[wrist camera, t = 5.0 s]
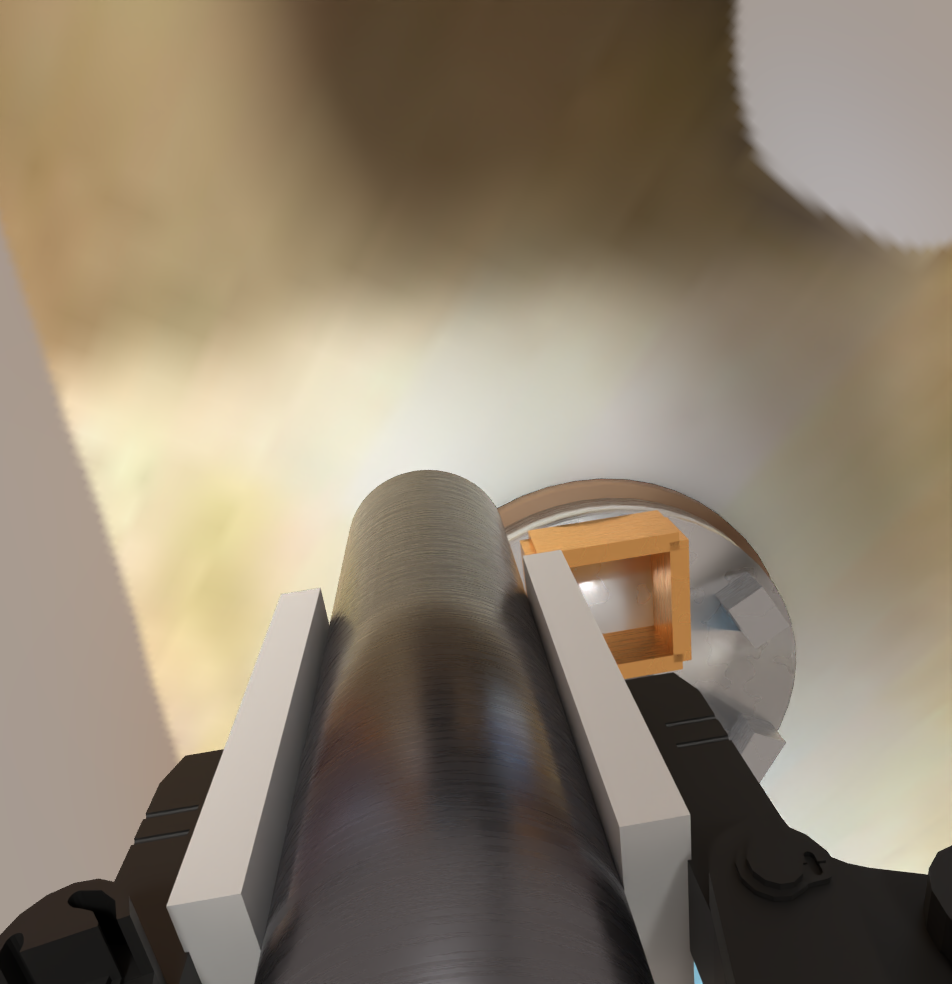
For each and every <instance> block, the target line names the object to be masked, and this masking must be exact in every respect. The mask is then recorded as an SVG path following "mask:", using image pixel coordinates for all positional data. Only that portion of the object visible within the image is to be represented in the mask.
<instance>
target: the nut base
mask: <svg viewBox="0 0 952 984" xmlns="http://www.w3.org/2000/svg"><path fill="white" fill-rule="evenodd" d="M600 498H633V499H640V500H646V501H652V502H658V503H662V504H665V505H668V506H672V507H675V508H678V509H682V510H684V511H686V512H688V513H690V514H692V515H695V516H697V517H699V518H701V519H703V520H705V521H706V522H708V523H709V524H711V525H712V526H714V527H715V528H717V529H719V530H720V531H722V532H723V533H724V534H725V535H726V536H727V537H729V538H730V539H731V540H732V541H733V542H734V543H735V544H736V545H737V546H739V547H740V548H741V549H742V550H743V551H744V552H745V553H746V554H747V555H749V556H750V557H751V558H752V559H753V560H754V561H755V562H756V563H757V564H759V566H760V567H761V568H762V569H763V571H764V572H765V573H766V574H767V576H768V577H769V578H770V576H769V574H768V572H767V570H766V568H765V566H764V565H763V563H762V561H761V559H760V558H759V556H758V554H757V553H756V552H755V551H754V549H753V548H752V547H751V546H750V544H749V543H748V542H747V541H746V539H745V538H744V537H743V536H742V535H741V534H740V533H738V532H737V531H736V530H735V529H734V528H733V527H732V526H731V525H730V524H729V523H727V522H726V521H725V520H724V519H723V518H722V517H720V516H719V515H718V514H717V513H715V512H714V511H712V510H711V509H709V508H708V507H706V506H705V505H703V504H702V503H700V502H699V501H696V500H694V499H692V498H690V497H688V496H686V495H684V494H682V493H680V492H677V491H675V490H671V489H668V488H665V487H662V486H658V485H655V484H651V483H645V482H639V481H633V480H624V479H593V480H582V481H573V482H569V483H564V484H559V485H555V486H550V487H547V488H544V489H541V490H538V491H535V492H532V493H529V494H527V495H524V496H521V497H519V498H517V499H515V500H513V501H511V502H509V503H507V504H505V505H503V506H501V507H499V508H497V510H498V512H499V514H500V516H501V519H502V522H503V525H504V528H505V527H507V526H509V525H511V524H513V523H515V522H517V521H519V520H521V519H523V518H525V517H527V516H529V515H531V514H534V513H537V512H540V511H543V510H546V509H548V508H551V507H554V506H558V505H562V504H567V503H571V502H576V501H580V500H589V499H600Z"/></svg>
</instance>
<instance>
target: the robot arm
mask: <svg viewBox="0 0 952 984" xmlns="http://www.w3.org/2000/svg"><path fill="white" fill-rule="evenodd" d="M523 564H524V572H525V581H526V589H527V598H528V601H529V604H530V607H531V610H532V613H533V616H534V619H535V622H536V626H537V629H538V632H539V635H540V638H541V641H542V644H543V647H544V650H545V653H546V656H547V659H548V662H549V665H550V668H551V671H552V674H553V677H554V680H555V683H556V686H557V689H558V692H559V695H560V698H561V701H562V704H563V707H564V710H565V714H566V717H567V720H568V723H569V726H570V729H571V732H572V735H573V738H574V741H575V744H576V747H577V750H578V753H579V756H580V759H581V762H582V765H583V768H584V771H585V774H586V777H587V780H588V783H589V786H590V789H591V792H592V795H593V799H594V802H595V805H596V808H597V811H598V814H599V817H600V820H601V823H602V826H603V829H604V832H605V835H606V838H607V841H608V844H609V847H610V850H611V853H612V856H613V859H614V862H615V865H616V868H617V871H618V874H619V877H620V880H621V883H622V887H623V890H624V893H625V895H626V898H627V901H628V904H629V907H630V910H631V913H632V916H633V919H634V922H635V925H636V928H637V931H638V934H639V937H640V941H641V944H642V947H643V950H644V953H645V956H646V959H647V962H648V965H649V968H650V971H651V974H652V977H653V980H654V983H655V984H694V962H695V965H696V967H697V970H698V972H699V975H700V978H701V980H702V983H703V984H952V846H950V847H948V848H946V849H944V850H941V851H939V852H938V853H937V855H936V857H935V858H934V860H933V862H932V864H931V866H930V867H929V872H928V875H926V874H917V873H909V872H900V871H891V870H883V869H874V868H867V867H863V866H858V865H853V864H848V863H845V862H843V861H840V860H838V859H835V858H832V857H831V856H830V855H829V853H828V852H827V851H826V850H825V849H824V848H822V847H821V846H820V845H819V844H817V843H816V842H815V841H814V840H812V839H811V838H810V837H808V836H807V835H806V834H803V833H801V832H799V831H796V830H794V829H792V828H789V827H788V825H787V824H786V823H785V822H784V820H783V819H782V818H781V816H780V815H779V813H778V812H777V810H776V809H775V807H774V805H773V804H772V802H771V801H770V799H769V798H768V796H767V795H766V793H765V791H764V790H763V788H762V787H761V785H760V784H759V782H758V781H757V779H756V777H755V776H754V774H753V773H752V771H751V770H750V768H749V767H748V765H747V764H746V762H745V760H744V759H743V757H742V756H741V754H740V753H739V751H738V750H737V748H736V746H735V745H734V743H733V742H732V740H729V738H728V734H727V732H726V731H725V729H724V728H723V726H722V725H721V723H720V722H719V720H718V719H717V720H716V718H715V714H714V712H713V711H712V709H711V708H710V706H709V705H708V703H707V701H706V700H705V698H704V697H703V695H702V694H701V692H700V691H699V690H698V689H697V688H695V687H694V686H692V685H691V684H689V683H688V682H687V681H685V680H684V679H682V678H681V677H679V676H678V675H677V674H675V673H674V672H672V673H666V674H660V675H654V676H648V677H642V678H636V679H629V680H624V678H623V676H622V674H621V672H620V670H619V668H618V666H617V664H616V662H615V659H614V657H613V655H612V653H611V651H610V649H609V647H608V645H607V643H606V641H605V639H604V637H603V635H602V633H601V631H600V629H599V627H598V625H597V623H596V621H595V619H594V616H593V614H592V612H591V610H590V608H589V606H588V604H587V602H586V600H585V598H584V596H583V594H582V592H581V590H580V588H579V586H578V584H577V582H576V580H575V578H574V576H573V574H572V571H571V569H570V567H569V565H568V563H567V561H566V559H565V557H564V555H563V553H562V551H561V550H556V551H550V552H544V553H537V554H531V555H525V556H523ZM328 631H329V622H328V618H327V613H326V609H325V605H324V601H323V597H322V593H321V588H316V589H310V590H304V591H297V592H291V593H285V594H281V595H280V598H279V601H278V604H277V606H276V609H275V612H274V614H273V617H272V620H271V623H270V625H269V628H268V631H267V634H266V636H265V639H264V642H263V644H262V647H261V650H260V653H259V655H258V658H257V661H256V663H255V666H254V669H253V672H252V674H251V677H250V680H249V682H248V685H247V688H246V691H245V693H244V696H243V699H242V702H241V704H240V707H239V710H238V712H237V715H236V718H235V721H234V723H233V726H232V729H231V731H230V734H229V737H228V740H227V742H226V745H225V748H224V749H223V750H217V751H211V752H205V753H199V754H193V755H187V756H185V757H184V758H183V759H182V760H181V761H180V762H179V763H178V764H177V765H176V766H175V768H174V769H173V770H172V771H171V772H170V773H169V774H168V775H167V776H166V777H165V778H164V780H163V781H162V782H161V783H160V784H159V786H158V788H157V791H156V793H155V795H154V797H153V799H152V801H151V804H150V806H149V808H148V810H147V812H146V819H144V820H143V821H142V823H141V825H140V827H139V830H138V832H137V834H136V836H135V838H134V840H135V843H134V845H131V847H130V849H129V851H128V853H127V856H126V858H125V860H124V862H123V864H122V866H121V868H120V871H119V873H118V875H117V877H116V879H115V881H114V882H112V881H107V880H102V879H95V880H89V881H83V882H77V883H73V884H71V885H69V886H67V887H65V888H62V889H60V890H58V891H56V892H54V893H51V894H49V895H47V896H45V897H44V898H43V899H41V900H40V901H38V902H37V903H36V904H34V905H33V906H31V907H30V908H28V909H27V910H26V911H24V912H23V913H21V914H20V915H19V916H18V917H17V918H16V919H15V920H14V921H13V922H12V923H11V924H10V925H9V926H8V927H7V928H6V930H5V931H4V932H3V933H2V934H1V935H0V984H254V982H255V977H256V972H257V968H258V963H259V958H260V953H261V949H262V944H263V939H264V934H265V930H266V925H267V920H268V915H269V911H270V906H271V901H272V896H273V892H274V887H275V882H276V877H277V873H278V868H279V863H280V858H281V854H282V849H283V844H284V839H285V835H286V830H287V825H288V820H289V816H290V811H291V806H292V801H293V797H294V792H295V787H296V782H297V778H298V773H299V768H300V764H301V759H302V754H303V749H304V745H305V740H306V735H307V730H308V726H309V721H310V716H311V711H312V707H313V702H314V697H315V692H316V688H317V683H318V678H319V673H320V669H321V664H322V659H323V654H324V650H325V645H326V640H327V635H328Z"/></svg>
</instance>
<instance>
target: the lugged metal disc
mask: <svg viewBox="0 0 952 984" xmlns="http://www.w3.org/2000/svg"><path fill="white" fill-rule="evenodd" d="M505 531H506V534H507V537H508V540H509V543H510V546H511V549H512V552H513V555H514V558H515V562H516V565H517V568H518V571H519V574H520V577H521V580H522V583H523V586H524V589H525V592H526V595H527V589H526V581H525V572H524V564H523V556H525V555H531V554H537V553H544V552H550V551H556V550H561V551H562V553H563V555H564V557H565V559H566V561H567V563H568V565H569V567H570V569H571V571H572V574H573V576H574V578H575V580H576V582H577V584H578V586H579V588H580V590H581V592H582V594H583V596H584V598H585V600H586V602H587V604H588V606H589V608H590V610H591V612H592V614H593V616H594V619H595V621H596V623H597V625H598V627H599V629H600V631H601V633H602V635H603V637H604V639H605V641H606V643H607V645H608V647H609V649H610V651H611V653H612V655H613V657H614V659H615V662H616V664H617V666H618V668H619V670H620V672H621V674H622V676H623V678H624V680H629V679H636V678H642V677H648V676H654V675H660V674H666V673H672V672H674V673H675V674H677V675H678V676H679V677H681V678H682V679H684V680H685V681H687V682H688V683H689V684H691V685H692V686H694V687H695V688H697V689H698V690H699V691H700V692H701V694H702V695H703V697H704V698H705V700H706V701H707V703H708V705H709V706H710V708H711V709H712V711H713V712H714V714H715V718H716V720H717V719H718V720H719V722H720V723H721V725H722V726H723V728H724V729H725V731H726V732H727V734H728V738H729V740H732V742H733V743H734V745H735V746H736V748H737V750H738V751H739V753H740V754H741V756H742V757H743V759H744V760H745V762H746V764H747V765H748V767H749V768H750V770H751V771H752V773H753V774H754V776H755V777H756V779H757V781H758V782H759V783H760V782H761V780H762V778H763V777H764V775H765V774H766V772H767V771H768V769H769V768H770V766H771V765H772V763H773V761H774V760H775V758H776V757H777V755H778V754H779V752H780V751H781V749H782V748H783V746H784V745H785V743H786V742H785V740H784V739H783V738H782V737H781V735H780V734H779V733H778V729H779V727H780V725H781V723H782V720H783V718H784V715H785V713H786V710H787V708H788V705H789V701H790V697H791V693H792V689H793V685H794V677H795V668H796V651H795V639H794V634H793V629H792V624H791V620H790V617H789V614H788V612H787V609H786V606H785V604H784V601H783V599H782V597H781V596H780V594H779V592H778V590H777V589H776V587H775V585H774V583H773V582H772V581H771V579H770V578H769V577H768V576H767V574H766V573H765V572H764V571H763V569H762V568H761V567H760V566H759V564H757V563H756V562H755V561H754V560H753V559H752V558H751V557H750V556H749V555H747V554H746V553H745V552H744V551H743V550H742V549H741V548H740V547H739V546H737V545H736V544H735V543H734V542H733V541H732V540H731V539H730V538H729V537H727V536H726V535H725V534H724V533H723V532H722V531H720V530H719V529H717V528H715V527H714V526H712V525H711V524H709V523H708V522H706V521H705V520H703V519H701V518H699V517H697V516H695V515H692V514H690V513H688V512H686V511H684V510H682V509H678V508H675V507H672V506H668V505H665V504H662V503H658V502H652V501H646V500H640V499H633V498H600V499H589V500H580V501H576V502H571V503H567V504H562V505H558V506H554V507H551V508H548V509H546V510H543V511H540V512H537V513H534V514H531V515H529V516H527V517H525V518H523V519H521V520H519V521H517V522H515V523H513V524H511V525H509V526H507V527H505Z"/></svg>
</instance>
